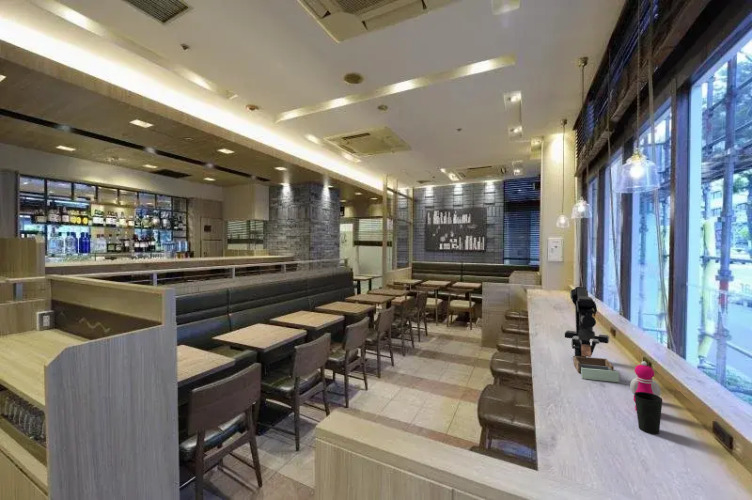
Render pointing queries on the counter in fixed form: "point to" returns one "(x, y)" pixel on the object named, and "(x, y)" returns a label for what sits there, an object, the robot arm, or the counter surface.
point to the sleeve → (591, 362)
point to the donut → (654, 387)
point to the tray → (598, 373)
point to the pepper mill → (644, 378)
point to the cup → (648, 412)
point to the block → (586, 350)
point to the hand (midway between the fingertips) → (586, 353)
